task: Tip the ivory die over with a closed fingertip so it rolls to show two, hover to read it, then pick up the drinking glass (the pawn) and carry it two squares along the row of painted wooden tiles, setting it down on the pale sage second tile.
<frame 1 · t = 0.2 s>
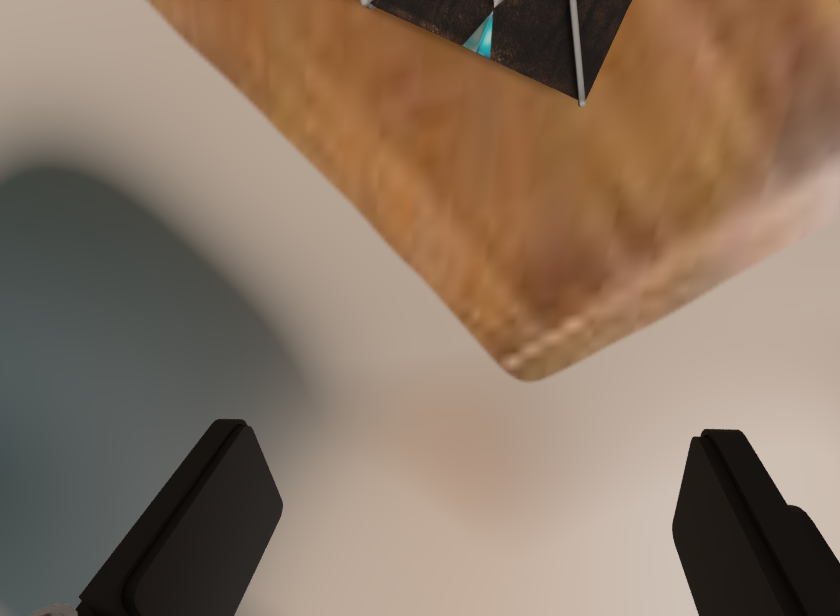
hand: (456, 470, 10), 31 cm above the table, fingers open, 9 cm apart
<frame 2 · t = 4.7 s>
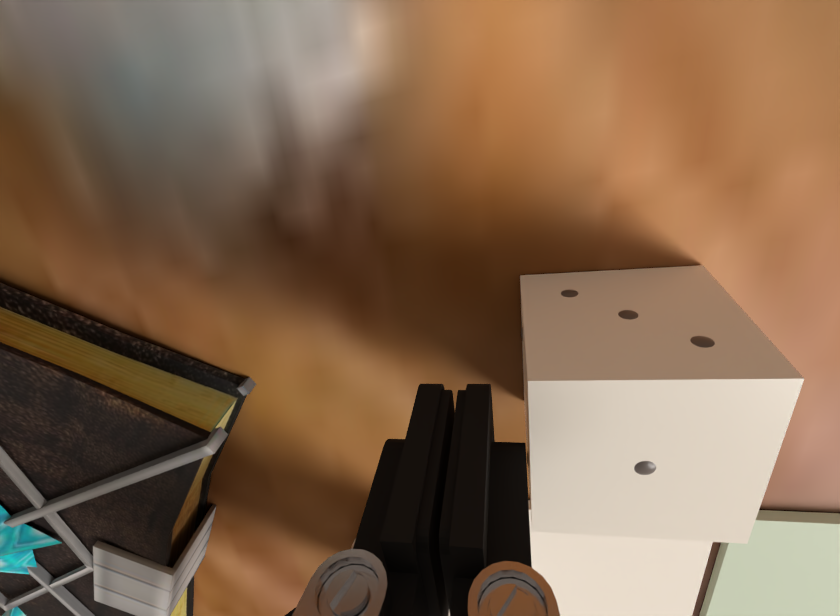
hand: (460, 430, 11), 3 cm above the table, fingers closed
book: (60, 457, 21), on the table
die: (602, 341, 13), on the table, touching gripper
squares: (600, 561, 18), on the table
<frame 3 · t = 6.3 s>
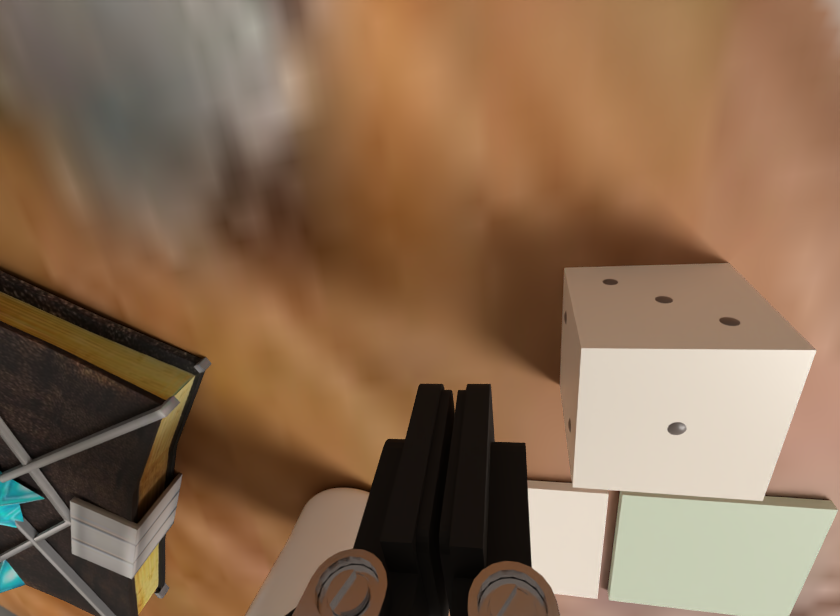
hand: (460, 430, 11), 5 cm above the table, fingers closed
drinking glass: (360, 515, 22), on the table
book: (49, 428, 24), on the table
die: (634, 328, 15), on the table
squares: (517, 534, 20), on the table
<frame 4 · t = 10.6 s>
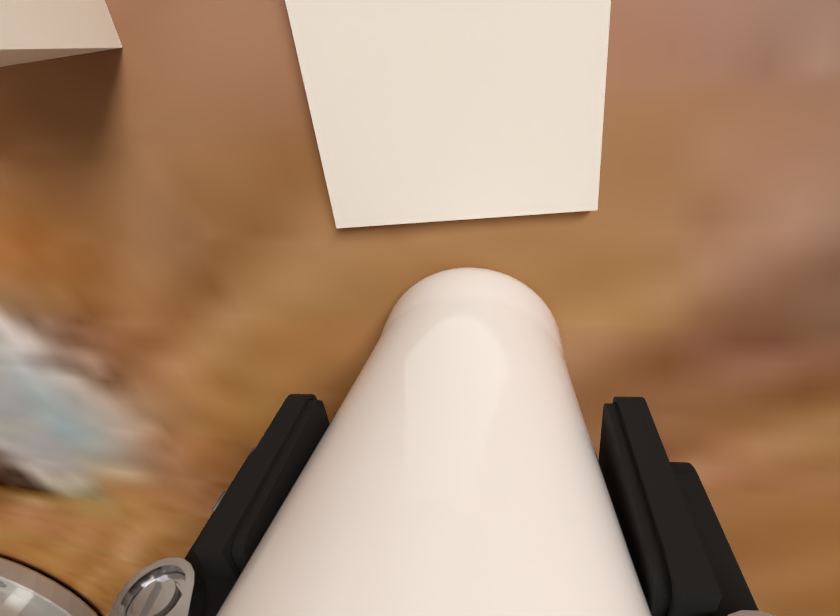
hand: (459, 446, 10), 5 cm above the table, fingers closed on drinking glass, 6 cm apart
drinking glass: (471, 332, 15), on the table, touching gripper
squares: (448, 73, 11), on the table
when the fingers open (6 cm above the table, at t = 17.1 s): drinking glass drops 1 cm, resting on squares.
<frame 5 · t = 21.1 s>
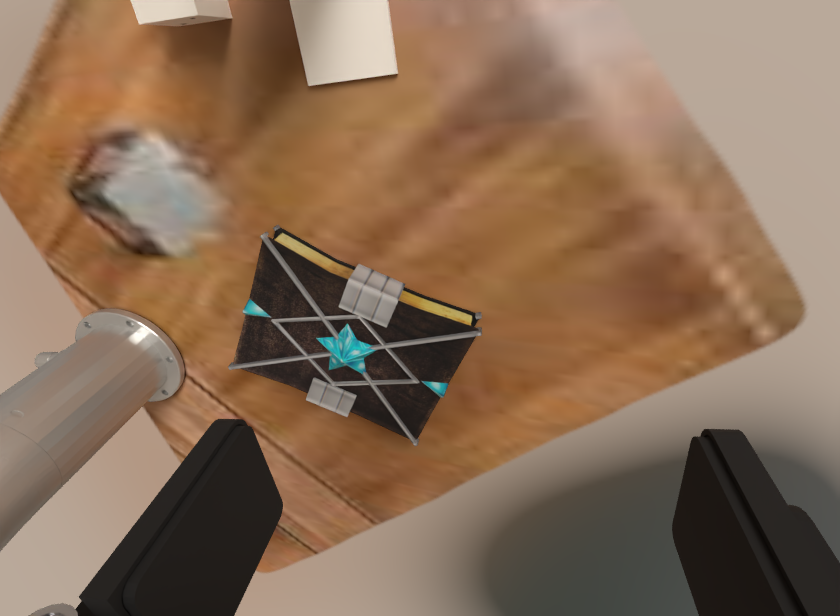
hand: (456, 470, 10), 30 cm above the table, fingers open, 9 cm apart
book: (356, 331, 47), on the table
squares: (343, 25, 33), on the table
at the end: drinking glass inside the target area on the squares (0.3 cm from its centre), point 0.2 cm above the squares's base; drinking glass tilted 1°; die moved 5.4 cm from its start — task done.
